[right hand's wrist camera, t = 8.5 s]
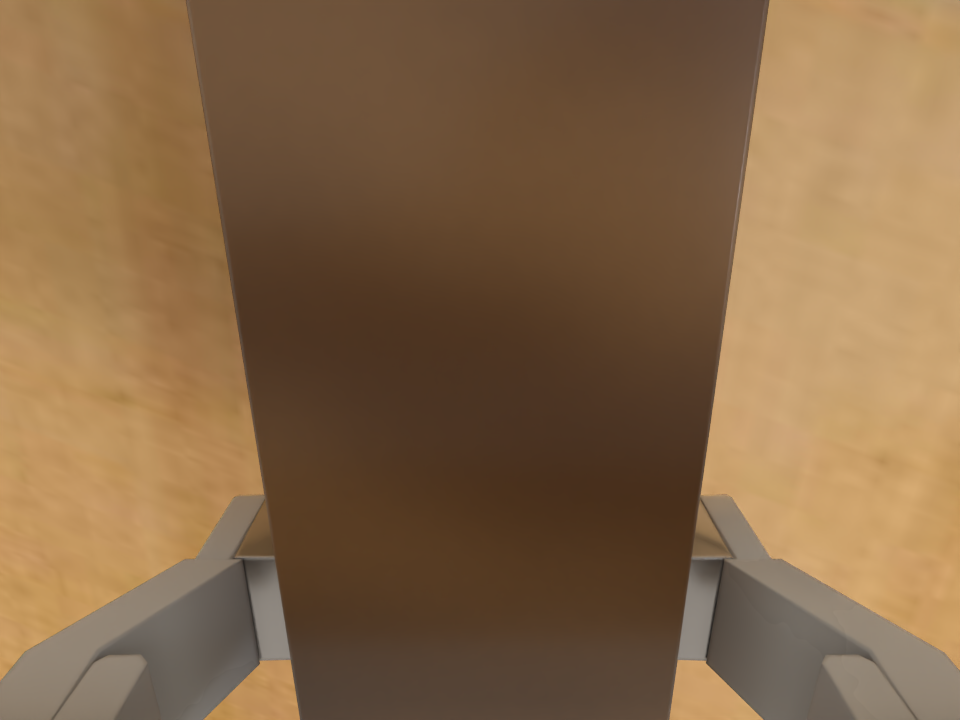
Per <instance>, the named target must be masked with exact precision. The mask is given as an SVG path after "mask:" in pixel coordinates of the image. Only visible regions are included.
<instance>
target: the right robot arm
mask: <svg viewBox="0 0 960 720" xmlns="http://www.w3.org/2000/svg"><path fill="white" fill-rule="evenodd" d="M260 660H291V658H290V652H289V646H288V639H287V633H286V627H285V620H284V614H283V608H282V601H281V595H280V589H279V583H278V576H277V570H276V564H275V557H274V551H273V545H272V539H271V532H270V526H269V520H268V513H267V507H266V501H265V495H238V496H236V497H234V498H233V499H232V501H231V502H230V504H229V505H228V507H227V509H226V510H225V512H224V513H223V515H222V517H221V518H220V520H219V521H218V523H217V525H216V526H215V528H214V529H213V531H212V533H211V534H210V536H209V537H208V539H207V541H206V542H205V544H204V545H203V547H202V548H201V550H200V552H199V553H198V555H197V556H196V558H195V559H184V560H183V561H181V562H179V563H177V564H176V565H174V566H172V567H171V568H169V569H167V570H165V571H164V572H162V573H160V574H158V575H157V576H155V577H153V578H152V579H150V580H148V581H146V582H145V583H143V584H141V585H139V586H138V587H136V588H134V589H133V590H131V591H129V592H127V593H126V594H124V595H122V596H120V597H119V598H117V599H115V600H114V601H112V602H110V603H108V604H107V605H105V606H103V607H101V608H100V609H98V610H96V611H95V612H93V613H91V614H89V615H88V616H86V617H84V618H82V619H81V620H79V621H77V622H75V623H74V624H72V625H70V626H69V627H67V628H65V629H63V630H62V631H60V632H58V633H56V634H55V635H53V636H51V637H50V638H48V639H46V640H44V641H43V642H41V643H39V644H37V645H36V646H34V647H32V648H31V649H29V650H27V651H25V652H24V653H23V655H22V656H21V657H20V658H19V659H18V661H17V662H16V663H15V664H14V665H13V667H12V668H11V669H10V670H9V671H8V673H7V674H6V675H5V676H4V678H3V679H2V680H1V681H0V720H203V719H204V718H205V717H206V716H207V715H208V714H209V713H210V712H211V711H212V710H213V709H214V708H215V707H216V706H217V705H218V704H219V703H220V702H221V701H222V700H223V699H225V698H226V697H227V696H228V695H229V694H230V693H231V692H232V691H233V690H234V689H235V688H236V687H237V686H238V685H239V684H240V683H241V682H242V681H243V680H244V679H245V678H246V677H247V676H248V675H249V674H250V673H251V672H252V671H253V670H254V669H255V668H256V667H257V666H258V665H259V664H260V662H259V661H260ZM678 660H706V664H707V665H708V666H710V667H711V668H712V669H713V670H714V671H715V672H716V673H717V674H718V675H719V676H720V677H721V678H722V679H723V680H724V681H725V682H726V683H727V684H728V685H729V686H730V687H731V688H732V689H733V690H734V691H735V692H736V693H737V694H738V695H739V696H740V697H741V698H742V699H743V700H744V701H745V702H746V703H747V704H748V705H749V706H750V707H751V708H752V709H753V710H755V711H756V712H757V713H758V714H759V715H760V716H761V717H762V718H763V719H764V720H960V671H959V669H958V668H957V667H956V666H955V665H954V663H953V662H952V661H951V660H950V659H949V658H948V656H947V655H946V654H945V653H944V652H942V651H940V650H939V649H937V648H935V647H934V646H932V645H930V644H928V643H927V642H925V641H923V640H921V639H920V638H918V637H916V636H914V635H913V634H911V633H909V632H907V631H906V630H904V629H902V628H900V627H899V626H897V625H895V624H894V623H892V622H890V621H888V620H887V619H885V618H883V617H881V616H880V615H878V614H876V613H874V612H873V611H871V610H869V609H867V608H866V607H864V606H862V605H860V604H859V603H857V602H855V601H854V600H852V599H850V598H848V597H847V596H845V595H843V594H841V593H840V592H838V591H836V590H834V589H833V588H831V587H829V586H827V585H826V584H824V583H822V582H820V581H819V580H817V579H815V578H814V577H812V576H810V575H808V574H807V573H805V572H803V571H801V570H800V569H798V568H796V567H794V566H793V565H791V564H789V563H787V562H786V561H784V560H782V559H771V557H770V556H769V554H768V553H767V551H766V550H765V548H764V546H763V545H762V543H761V542H760V540H759V539H758V537H757V536H756V534H755V533H754V531H753V530H752V528H751V526H750V525H749V523H748V522H747V520H746V519H745V517H744V516H743V514H742V513H741V511H740V509H739V508H738V506H737V505H736V503H735V502H734V500H733V499H732V497H730V496H728V495H727V494H722V495H700V502H699V509H698V516H697V523H696V530H695V537H694V545H693V552H692V559H691V566H690V573H689V581H688V588H687V595H686V602H685V609H684V616H683V624H682V631H681V638H680V645H679V652H678Z"/></svg>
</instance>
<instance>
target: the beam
mask: <svg viewBox="0 0 960 720" xmlns="http://www.w3.org/2000/svg"><path fill="white" fill-rule="evenodd" d="M186 4H187V10H188V16H189V23H190V29H191V35H192V41H193V48H194V54H195V60H196V67H197V73H198V79H199V86H200V92H201V98H202V104H203V111H204V117H205V123H206V130H207V136H208V142H209V148H210V155H211V161H212V167H213V174H214V180H215V186H216V192H217V199H218V205H219V211H220V218H221V224H222V230H223V237H224V243H225V249H226V255H227V262H228V268H229V274H230V281H231V287H232V293H233V299H234V306H235V312H236V318H237V325H238V331H239V337H240V344H241V350H242V356H243V362H244V369H245V375H246V381H247V388H248V394H249V400H250V406H251V413H252V419H253V425H254V432H255V438H256V444H257V450H258V457H259V463H260V469H261V476H262V482H263V488H264V495H265V501H266V507H267V513H268V520H269V526H270V532H271V539H272V545H273V551H274V557H275V564H276V570H277V576H278V583H279V589H280V595H281V601H282V608H283V614H284V620H285V627H286V633H287V639H288V646H289V652H290V658H291V664H292V671H293V677H294V683H295V690H296V696H297V702H298V708H299V715H300V720H669V717H670V710H671V703H672V695H673V688H674V681H675V674H676V667H677V660H678V652H679V645H680V638H681V631H682V624H683V616H684V609H685V602H686V595H687V588H688V581H689V573H690V566H691V559H692V552H693V545H694V537H695V530H696V523H697V516H698V509H699V502H700V494H701V487H702V480H703V473H704V466H705V458H706V451H707V444H708V437H709V430H710V423H711V415H712V408H713V401H714V394H715V387H716V379H717V372H718V365H719V358H720V351H721V344H722V336H723V329H724V322H725V315H726V308H727V300H728V293H729V286H730V279H731V272H732V265H733V257H734V250H735V243H736V236H737V229H738V221H739V214H740V207H741V200H742V193H743V186H744V178H745V171H746V164H747V157H748V150H749V142H750V135H751V128H752V121H753V114H754V107H755V99H756V92H757V85H758V78H759V71H760V63H761V56H762V49H763V42H764V35H765V28H766V20H767V13H768V6H769V0H186Z"/></svg>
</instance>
